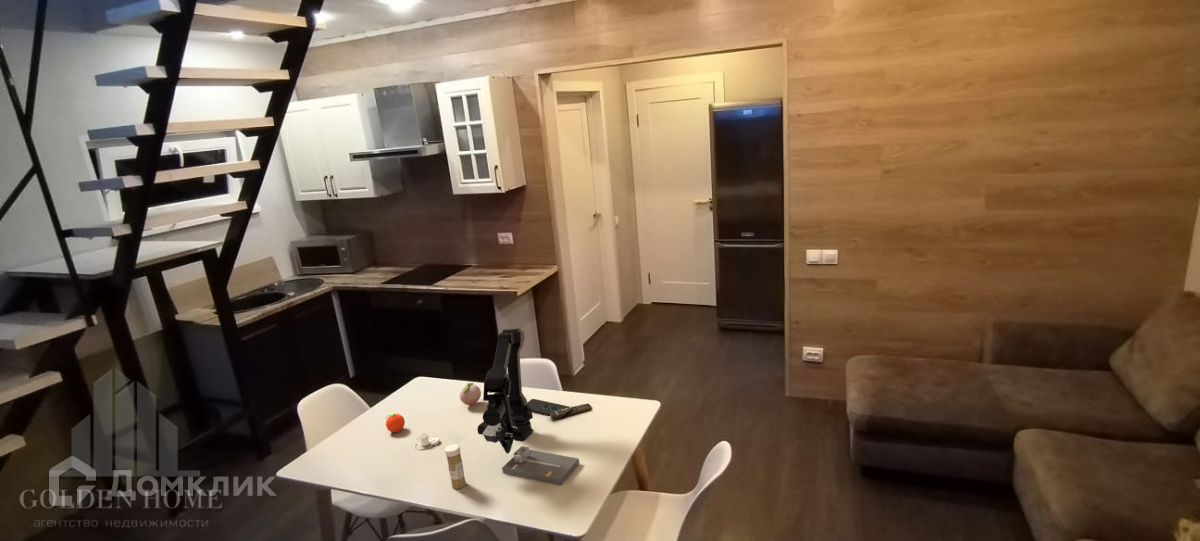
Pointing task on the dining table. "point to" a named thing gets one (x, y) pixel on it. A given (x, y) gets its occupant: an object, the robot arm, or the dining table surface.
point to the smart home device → (544, 407)
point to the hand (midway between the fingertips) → (508, 452)
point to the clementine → (395, 422)
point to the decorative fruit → (470, 394)
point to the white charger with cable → (427, 440)
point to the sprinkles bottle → (455, 466)
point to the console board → (543, 467)
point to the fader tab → (521, 454)
